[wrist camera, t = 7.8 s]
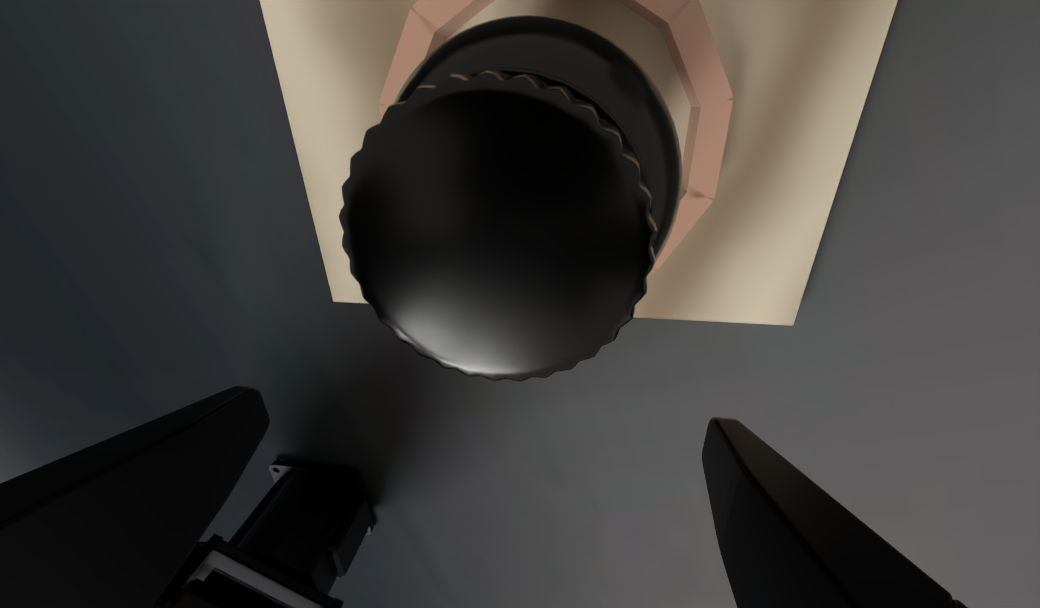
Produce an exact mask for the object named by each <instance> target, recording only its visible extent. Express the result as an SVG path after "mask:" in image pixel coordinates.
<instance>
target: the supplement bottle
mask: <svg viewBox="0 0 1040 608" xmlns="http://www.w3.org/2000/svg"><path fill="white" fill-rule="evenodd" d="M681 190H682V158H681V150H680V144H679V139H678V135H677V131H676V128H675V124H674V121H673V119H672V116H671V114H670V111H669V109H668V106H667V104H666V102H665V100H664V99H663V97H662V95H661V93H660V91H659V89H658V88H657V87H656V85H655V84H654V82H653V81H652V79H651V78H650V76H649V75H648V74H647V73H646V72H645V70H644V69H643V68H642V67H641V66H640V65H639V63H638V62H637V61H636V60H635V59H633V58H632V57H631V56H630V55H629V54H628V53H627V52H626V51H625V50H624V49H622V48H621V47H619V46H618V45H617V44H615V43H614V42H613V41H611V40H610V39H608V38H606V37H605V36H603V35H601V34H599V33H598V32H596V31H594V30H592V29H589V28H587V27H584V26H582V25H580V24H577V23H574V22H570V21H567V20H563V19H559V18H553V17H547V16H533V15H522V16H509V17H504V18H498V19H493V20H490V21H487V22H483V23H480V24H477V25H475V26H472V27H470V28H468V29H466V30H464V31H461V32H459V33H458V34H456V35H455V36H453V37H451V38H450V39H448V40H446V41H445V42H444V43H442V44H441V45H440V46H438V47H437V48H436V49H435V50H433V51H432V52H431V53H430V54H429V55H428V56H427V57H426V58H425V59H424V60H423V61H422V62H421V63H420V64H419V65H418V66H417V67H416V69H415V70H414V71H413V72H412V73H411V75H410V76H409V77H408V79H407V80H406V82H405V83H404V85H403V87H402V88H401V90H400V92H399V94H398V95H397V97H396V99H395V101H394V103H393V104H391V105H390V106H388V108H387V110H386V112H385V113H384V115H383V118H382V120H381V122H380V123H378V124H376V125H374V126H372V127H370V128H369V129H367V130H366V133H365V136H364V139H363V145H362V148H361V149H360V150H359V151H357V152H356V153H355V154H354V155H353V156H352V157H351V160H350V176H349V178H348V179H347V180H346V181H345V182H344V184H343V185H342V196H343V202H344V205H343V207H342V209H341V211H340V214H339V220H340V223H341V226H342V229H343V231H344V233H343V238H342V247H343V249H344V251H345V253H346V254H347V256H348V257H349V259H350V273H351V274H352V276H353V277H354V279H355V280H356V281H357V282H358V283H359V285H360V288H361V293H362V296H363V298H364V299H365V300H366V301H367V302H368V303H369V304H370V305H371V306H372V307H373V308H374V310H375V312H376V315H377V317H378V319H379V320H380V321H381V322H382V323H384V324H385V325H386V326H388V327H390V328H391V329H392V331H393V332H394V334H395V336H396V337H397V338H398V340H400V341H402V342H404V343H407V344H409V345H411V346H412V347H413V349H414V350H415V351H416V352H417V353H418V354H419V355H420V356H423V357H426V358H429V359H433V360H434V361H435V362H437V363H438V364H439V365H440V366H442V367H443V368H447V369H456V370H458V371H460V372H461V373H463V374H465V375H467V376H482V377H485V378H487V379H490V380H493V381H497V380H502V379H511V380H515V381H523V380H526V379H528V378H531V377H539V378H546V377H548V376H550V375H552V374H553V373H554V372H556V371H564V370H571V369H572V368H573V367H574V366H576V364H577V363H578V362H579V361H582V360H586V359H589V358H592V357H594V356H595V355H596V354H597V353H598V351H599V349H600V347H601V346H603V345H606V344H608V343H610V342H612V341H614V340H615V339H616V337H617V335H618V332H619V329H620V327H622V326H623V325H625V324H626V323H628V322H629V321H630V320H631V319H633V316H634V312H635V305H636V304H637V303H638V302H639V301H640V300H641V299H642V298H643V297H644V295H645V294H646V293H647V276H648V274H649V273H650V272H651V270H652V268H653V266H654V264H655V262H656V261H657V259H658V258H659V256H660V254H661V252H662V251H663V249H664V247H665V245H666V243H667V241H668V239H669V236H670V234H671V232H672V229H673V226H674V223H675V220H676V216H677V212H678V208H679V204H680V197H681Z"/></svg>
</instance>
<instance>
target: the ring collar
mask: <svg viewBox="0 0 1040 608" xmlns="http://www.w3.org/2000/svg"><path fill="white" fill-rule="evenodd" d="M493 1H494V0H418V1H417V2H416V3H415V4H414V5H412V6H413V8H414V9H415V11H413V10H411V9H410V11H409V14H408V17H407V20H406V23H405V26H404V29H403V32H402V35H401V38H400V41H399V43H398V46H397V49H396V52H395V55H394V58H393V61H392V64H391V67H390V70H389V73H388V76H387V79H386V82H385V85H384V88H383V91H382V94H381V97H380V100H379V103H381V104H383V105H379V111H380V118H381V120H382V118H383V115H384V113H385V112H386V110H387V108H388V106H390V105H391V104H393V103H394V101H395V99H396V97H397V95H398V94H399V92H400V90H401V88H402V87H403V85H404V83H405V82H406V80H407V79H408V77H409V76H410V75H411V73H412V72H413V71H414V70H415V69H416V67H417V66H418V65H419V64H420V63H421V62H422V61H423V60H424V59H425V58H426V57H427V56H428V55H429V54H430V53H431V52H432V51H433V50H435V49H436V48H437V47H438V46H440V45H441V44H442V43H444V42H445V41H446V40H447V37H449V36H450V35H451V34H452V33H454V32H455V31H456V30H457V29H459V28H460V27H461V26H463V25H464V24H465V23H466V22H468V21H469V20H470V19H471V18H473V17H474V16H475V15H477V14H478V13H479V12H480V11H482V10H483V9H484V8H485V7H487V6H488V5H489V4H491V3H492V2H493ZM618 1H619V2H621V3H622V4H624V5H625V6H627V7H628V8H630V9H631V10H633V11H634V12H636V13H637V14H638V15H640V16H641V17H643V18H644V19H646V20H647V21H649V22H650V23H652V24H653V25H655V26H656V27H658V28H659V29H661V32H662V34H663V37H664V39H665V42H666V45H667V47H668V50H669V52H670V55H671V57H672V60H673V62H674V65H675V67H676V70H677V72H678V75H679V77H680V80H681V83H682V85H683V88H684V90H685V93H686V95H687V98H688V100H689V103H690V105H691V108H690V115H689V121H688V128H687V134H686V141H685V147H684V154H683V160H682V190H681V197H680V204H679V208H678V212H677V216H676V220H675V223H674V226H673V229H672V232H671V234H670V236H669V239H668V241H667V243H666V245H665V247H664V249H663V251H662V252H661V254H660V256H659V258H658V259H657V261H656V262H655V264H654V266H653V268H652V270H651V272H650V273H649V274H651V273H654V272H655V269H654V268H656V269H659V268H660V267H661V265H662V264H663V263H664V262H665V260H666V259H667V258H668V257H669V255H670V254H671V253H672V252H673V250H674V249H675V248H676V247H677V245H678V244H679V243H680V242H681V241H682V239H683V238H684V237H685V236H686V234H687V233H688V232H689V231H690V229H691V228H692V227H693V226H694V224H695V223H696V222H697V221H698V219H699V218H700V217H701V216H702V214H703V213H704V212H705V211H706V209H707V208H708V207H709V206H710V204H711V203H712V202H713V200H711V199H710V198H715V194H716V188H717V183H718V178H719V173H720V168H721V163H722V157H723V152H724V147H725V142H726V137H727V132H728V126H729V121H730V116H731V111H732V106H733V101H734V100H728V99H730V98H731V97H733V94H732V91H731V88H730V85H729V83H728V80H727V77H726V74H725V71H724V68H723V66H722V63H721V60H720V57H719V54H718V52H717V49H716V46H715V43H714V40H713V38H712V35H711V32H710V29H709V26H708V24H707V21H706V18H705V15H704V12H703V10H702V7H701V4H700V1H699V0H618ZM649 274H648V275H649Z"/></svg>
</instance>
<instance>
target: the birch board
mask: <svg viewBox="0 0 1040 608" xmlns="http://www.w3.org/2000/svg"><path fill="white" fill-rule="evenodd" d="M417 1H418V0H260V3H261V7H262V11H263V15H264V20H265V24H266V28H267V32H268V36H269V40H270V44H271V48H272V52H273V56H274V61H275V65H276V69H277V73H278V77H279V81H280V85H281V89H282V93H283V97H284V101H285V106H286V110H287V114H288V118H289V122H290V126H291V130H292V134H293V138H294V142H295V147H296V151H297V155H298V159H299V163H300V167H301V171H302V175H303V179H304V183H305V188H306V192H307V196H308V200H309V204H310V208H311V212H312V216H313V220H314V224H315V229H316V233H317V237H318V241H319V245H320V249H321V253H322V257H323V261H324V265H325V269H326V274H327V278H328V282H329V286H330V290H331V294H332V298H333V302H350V303H368V302H367V301H366V300H365V299H364V298H363V296H362V293H361V288H360V285H359V283H358V282H357V281H356V280H355V279H354V277H353V276H352V274H351V273H350V259H349V257H348V256H347V254H346V253H345V251H344V249H343V247H342V238H343V233H344V231H343V229H342V226H341V223H340V220H339V214H340V211H341V209H342V207H343V205H344V202H343V196H342V185H343V184H344V182H345V181H346V180H347V179H348V178H349V176H350V160H351V157H352V156H353V155H354V154H355V153H356V152H357V151H359V150H360V149H361V148H362V145H363V139H364V136H365V133H366V130H367V129H369V128H370V127H372V126H374V125H376V124H378V123H380V122H381V118H380V111H379V105H383V104H381V103H379V100H380V97H381V94H382V91H383V88H384V85H385V82H386V79H387V76H388V73H389V70H390V67H391V64H392V61H393V58H394V55H395V52H396V49H397V46H398V43H399V41H400V38H401V35H402V32H403V29H404V26H405V23H406V20H407V17H408V14H409V11H410V9H411V10H413V11H415V9H414V8H413V6H412V5H414V4H415V3H416V2H417ZM699 1H700V4H701V7H702V10H703V12H704V15H705V18H706V21H707V24H708V26H709V29H710V32H711V35H712V38H713V40H714V43H715V46H716V49H717V52H718V54H719V57H720V60H721V63H722V66H723V68H724V71H725V74H726V77H727V80H728V83H729V85H730V88H731V91H732V94H733V97H731V98H730V99H728V100H734V101H733V106H732V111H731V116H730V121H729V126H728V132H727V137H726V142H725V147H724V152H723V157H722V163H721V168H720V173H719V178H718V183H717V188H716V194H715V198H710V199H711V200H713V202H712V203H711V204H710V206H709V207H708V208H707V209H706V211H705V212H704V213H703V214H702V216H701V217H700V218H699V219H698V221H697V222H696V223H695V224H694V226H693V227H692V228H691V229H690V231H689V232H688V233H687V234H686V236H685V237H684V238H683V239H682V241H681V242H680V243H679V244H678V245H677V247H676V248H675V249H674V250H673V252H672V253H671V254H670V255H669V257H668V258H667V259H666V260H665V262H664V263H663V264H662V265H661V267H660V268H659V269H656V268H654V269H655V272H654V273H651V274H649V275H648V276H647V293H646V294H645V295H644V297H643V298H642V299H641V300H640V301H639V302H638V303H637V304H636V305H635V312H634V316H633V317H639V318H658V319H677V320H697V321H716V322H735V323H754V324H774V325H793V324H794V321H795V318H796V315H797V311H798V308H799V305H800V302H801V299H802V296H803V293H804V290H805V287H806V284H807V280H808V277H809V274H810V271H811V268H812V265H813V262H814V259H815V256H816V252H817V249H818V246H819V243H820V240H821V237H822V234H823V231H824V228H825V225H826V221H827V218H828V215H829V212H830V209H831V206H832V203H833V200H834V197H835V194H836V190H837V187H838V184H839V181H840V178H841V175H842V172H843V169H844V166H845V162H846V159H847V156H848V153H849V150H850V147H851V144H852V141H853V138H854V135H855V131H856V128H857V125H858V122H859V119H860V116H861V113H862V110H863V107H864V104H865V100H866V97H867V94H868V91H869V88H870V85H871V82H872V79H873V76H874V72H875V69H876V66H877V63H878V60H879V57H880V54H881V51H882V48H883V45H884V41H885V38H886V35H887V32H888V29H889V26H890V23H891V20H892V17H893V14H894V10H895V7H896V4H897V1H898V0H699ZM522 15H533V16H547V17H553V18H559V19H563V20H567V21H570V22H574V23H577V24H580V25H582V26H584V27H587V28H589V29H592V30H594V31H596V32H598V33H599V34H601V35H603V36H605V37H606V38H608V39H610V40H611V41H613V42H614V43H615V44H617V45H618V46H619V47H621V48H622V49H624V50H625V51H626V52H627V53H628V54H629V55H630V56H631V57H632V58H633V59H635V60H636V61H637V62H638V63H639V65H640V66H641V67H642V68H643V69H644V70H645V72H646V73H647V74H648V75H649V76H650V78H651V79H652V81H653V82H654V84H655V85H656V87H657V88H658V89H659V91H660V93H661V95H662V97H663V99H664V100H665V102H666V104H667V106H668V109H669V111H670V114H671V116H672V119H673V121H674V124H675V128H676V131H677V135H678V139H679V144H680V150H681V158H682V160H683V154H684V147H685V141H686V134H687V128H688V121H689V115H690V108H691V105H690V103H689V100H688V98H687V95H686V93H685V90H684V88H683V85H682V83H681V80H680V77H679V75H678V72H677V70H676V67H675V65H674V62H673V60H672V57H671V55H670V52H669V50H668V47H667V45H666V42H665V39H664V37H663V34H662V32H661V29H659V28H658V27H656V26H655V25H653V24H652V23H650V22H649V21H647V20H646V19H644V18H643V17H641V16H640V15H638V14H637V13H636V12H634V11H633V10H631V9H630V8H628V7H627V6H625V5H624V4H622V3H621V2H619V1H618V0H494V1H493V2H492V3H491V4H489V5H488V6H487V7H485V8H484V9H483V10H482V11H480V12H479V13H478V14H477V15H475V16H474V17H473V18H471V19H470V20H469V21H468V22H466V23H465V24H464V25H463V26H461V27H460V28H459V29H457V30H456V31H455V32H454V33H452V34H451V35H450V36H449V37H447V40H448V39H450V38H451V37H453V36H455V35H456V34H458V33H459V32H461V31H464V30H466V29H468V28H470V27H472V26H475V25H477V24H480V23H483V22H487V21H490V20H493V19H498V18H504V17H509V16H522Z"/></svg>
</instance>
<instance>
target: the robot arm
mask: <svg viewBox="0 0 1040 608" xmlns="http://www.w3.org/2000/svg"><path fill="white" fill-rule="evenodd" d="M269 422H270V419H269V415H268V412H267V409H266V407H265V404H264V401H263V399H262V396H261V393H260V391H259V390H258V389H257V388H255V387H247V386H235V387H232V388H229V389H227V390H224V391H222V392H220V393H217V394H215V395H212V396H210V397H208V398H205V399H203V400H200V401H198V402H196V403H193V404H191V405H188V406H186V407H184V408H181V409H179V410H176V411H174V412H172V413H169V414H167V415H164V416H162V417H160V418H157V419H155V420H152V421H150V422H147V423H145V424H143V425H140V426H138V427H135V428H133V429H131V430H128V431H126V432H123V433H121V434H119V435H116V436H114V437H111V438H109V439H107V440H104V441H102V442H99V443H97V444H95V445H92V446H90V447H87V448H85V449H83V450H80V451H78V452H75V453H73V454H70V455H68V456H66V457H63V458H61V459H58V460H56V461H54V462H51V463H49V464H46V465H44V466H42V467H39V468H37V469H34V470H32V471H30V472H27V473H25V474H22V475H20V476H18V477H15V478H13V479H10V480H8V481H5V482H3V483H1V484H0V608H341V607H342V605H343V601H342V600H340V599H338V598H335V599H334V598H332V597H330V596H328V593H329V592H330V590H331V588H332V586H333V584H334V582H335V580H336V578H342V577H343V576H344V575H345V574H346V572H347V570H348V568H349V566H350V564H351V562H352V560H353V558H354V556H355V554H356V552H357V550H358V548H359V546H360V544H361V542H362V540H363V538H364V536H365V535H370V534H371V532H372V530H373V528H374V526H373V522H372V518H371V514H370V511H369V507H368V503H367V499H366V496H365V493H364V489H363V485H362V481H361V478H360V474H359V472H358V471H357V470H355V469H352V468H343V467H334V466H325V465H315V464H306V463H297V462H288V461H278V460H277V461H274V462H273V463H272V464H271V465H270V467H269V469H270V472H271V474H272V477H273V479H274V482H275V484H274V486H273V487H272V488H271V489H270V491H269V492H268V493H267V494H266V496H265V497H264V498H263V499H262V501H261V502H260V503H259V504H258V506H257V507H256V508H255V509H254V511H253V512H252V513H251V514H250V516H249V517H248V518H247V519H246V521H245V522H244V523H243V524H242V526H241V527H240V528H239V529H238V531H237V532H236V533H235V535H234V536H233V537H232V538H231V540H230V541H229V542H226V541H224V540H222V539H223V537H221V536H219V535H217V534H214V535H213V536H212V537H211V538H210V539H209V541H208V542H207V541H206V542H198V541H199V539H200V538H201V536H202V535H203V534H204V532H205V531H206V529H207V528H208V526H209V525H210V523H211V522H212V521H213V519H214V518H215V516H216V515H217V513H218V512H219V511H220V509H221V508H222V506H223V505H224V503H225V502H226V500H227V499H228V497H229V495H230V494H231V492H232V490H233V489H234V487H235V485H236V484H237V482H238V480H239V478H240V477H241V475H242V473H243V471H244V470H245V468H246V466H247V464H248V463H249V461H250V459H251V458H252V456H253V454H254V452H255V451H256V449H257V447H258V445H259V444H260V442H261V440H262V438H263V437H264V435H265V433H266V431H267V429H268V427H269ZM702 462H703V468H704V473H705V478H706V484H707V489H708V494H709V499H710V504H711V509H712V514H713V519H714V525H715V530H716V535H717V539H718V544H719V548H720V552H721V556H722V559H723V563H724V566H725V569H726V572H727V576H728V579H729V582H730V585H731V588H732V592H733V595H734V598H735V601H736V605H737V608H968V607H966V606H965V605H964V604H963V603H961V602H960V601H959V600H952V596H951V594H950V593H949V592H948V591H946V590H945V589H944V588H943V587H942V586H940V585H939V584H938V583H937V582H935V581H934V580H933V579H932V578H931V577H929V576H928V575H927V574H926V573H924V572H923V571H922V570H921V569H920V568H918V567H917V566H916V565H915V564H913V563H912V562H911V561H910V560H908V559H907V558H906V557H905V556H904V555H902V554H901V553H900V552H899V551H897V550H896V549H895V548H894V547H893V546H891V545H890V544H889V543H888V542H886V541H885V540H884V539H883V538H882V537H880V536H879V535H878V534H877V533H875V532H874V531H873V530H872V529H870V528H869V527H868V526H867V525H866V524H864V523H863V522H862V521H861V520H859V519H858V518H857V517H856V516H855V515H853V514H852V513H851V512H850V511H848V510H847V509H846V508H845V507H844V506H842V505H841V504H840V503H839V502H837V501H836V500H835V499H834V498H832V497H831V496H830V495H829V494H828V493H826V492H825V491H824V490H823V489H821V488H820V487H819V486H818V485H817V484H815V483H814V482H813V481H812V480H810V479H809V478H808V477H807V476H806V475H804V474H803V473H802V472H801V471H799V470H798V469H797V468H796V467H794V466H793V465H792V464H791V463H790V462H788V461H787V460H786V459H785V458H783V457H782V456H781V455H780V454H779V453H777V452H776V451H775V450H774V449H772V448H771V447H770V446H769V445H768V444H766V443H765V442H764V441H763V440H761V439H760V438H759V437H758V436H756V435H755V434H754V433H753V432H752V431H750V430H749V429H748V428H747V427H745V426H744V425H743V424H742V423H741V422H739V421H738V420H736V419H733V418H720V417H714V418H712V419H711V420H710V421H709V424H708V428H707V433H706V437H705V442H704V446H703V451H702Z"/></svg>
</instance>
